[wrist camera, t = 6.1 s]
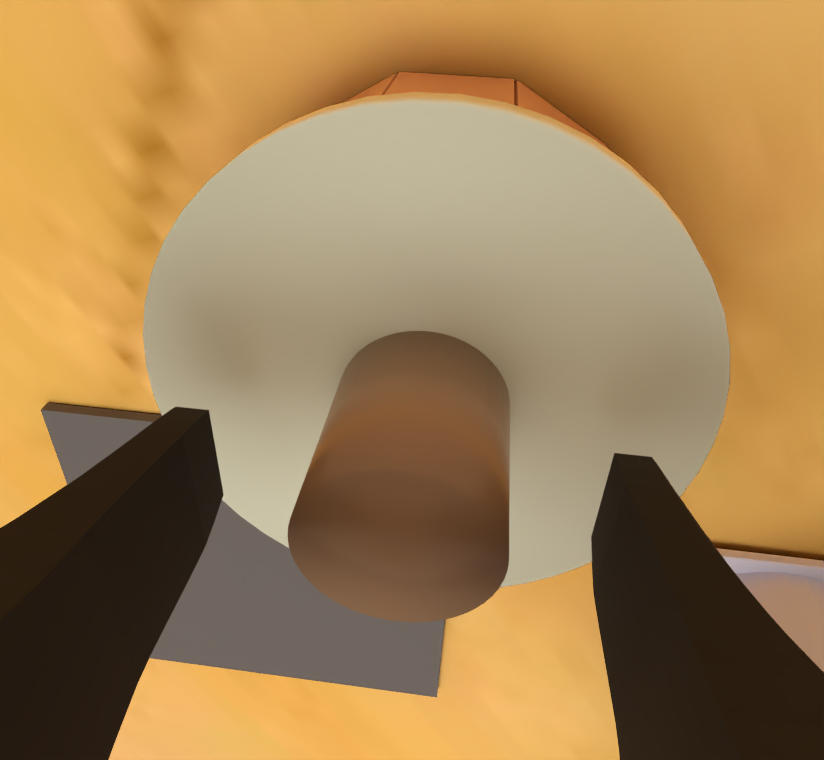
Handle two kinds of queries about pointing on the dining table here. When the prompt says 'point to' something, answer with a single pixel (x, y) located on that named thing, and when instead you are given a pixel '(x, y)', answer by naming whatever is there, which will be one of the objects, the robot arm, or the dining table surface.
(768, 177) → the dining table surface
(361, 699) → the dining table surface
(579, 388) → the lid
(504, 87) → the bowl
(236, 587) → the mat
